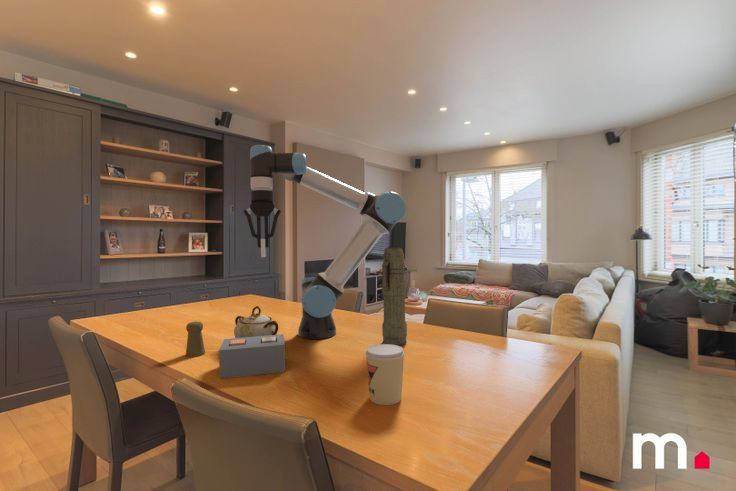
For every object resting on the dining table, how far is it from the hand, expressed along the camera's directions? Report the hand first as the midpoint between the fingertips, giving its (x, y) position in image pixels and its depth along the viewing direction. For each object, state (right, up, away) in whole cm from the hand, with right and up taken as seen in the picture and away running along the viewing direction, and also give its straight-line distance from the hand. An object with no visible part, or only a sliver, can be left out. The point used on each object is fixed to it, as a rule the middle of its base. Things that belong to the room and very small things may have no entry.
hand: (263, 256), depth 133 cm
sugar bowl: (-2, -33, 0) cm, 33 cm away
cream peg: (+7, -32, -19) cm, 38 cm away
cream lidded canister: (+42, -33, -42) cm, 68 cm away
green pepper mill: (-22, -33, -6) cm, 40 cm away
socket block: (+3, -33, -20) cm, 39 cm away
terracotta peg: (-2, -33, -21) cm, 39 cm away
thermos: (+47, -32, +5) cm, 57 cm away
